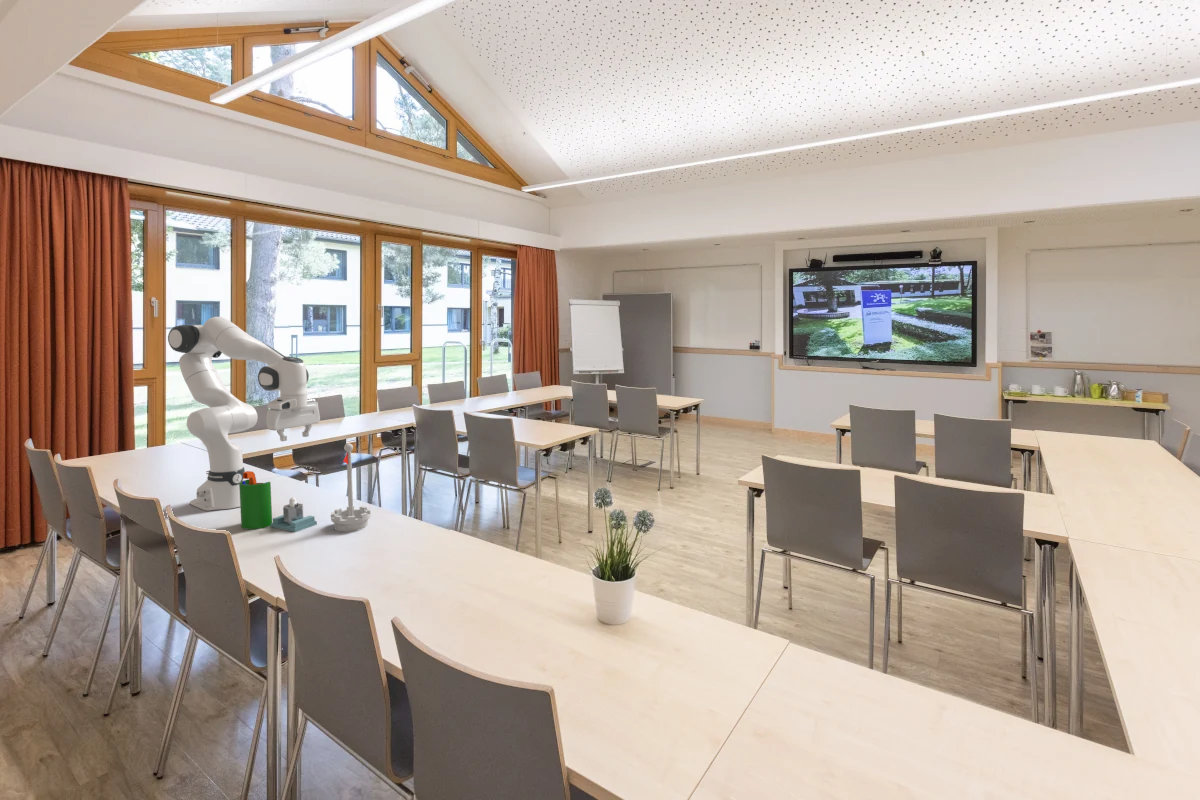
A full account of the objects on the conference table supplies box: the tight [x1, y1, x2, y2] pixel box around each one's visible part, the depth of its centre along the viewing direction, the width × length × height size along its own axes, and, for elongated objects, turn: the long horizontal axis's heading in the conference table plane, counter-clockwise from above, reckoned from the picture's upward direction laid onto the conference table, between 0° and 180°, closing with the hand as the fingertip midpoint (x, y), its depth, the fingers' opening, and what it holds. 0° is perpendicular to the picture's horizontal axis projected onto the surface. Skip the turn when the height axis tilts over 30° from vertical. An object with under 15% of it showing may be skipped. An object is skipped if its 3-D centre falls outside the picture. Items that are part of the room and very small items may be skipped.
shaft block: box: [270, 497, 318, 533], centre depth 219 cm, size 12×9×10 cm
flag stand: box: [330, 442, 372, 532], centre depth 218 cm, size 13×13×30 cm
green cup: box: [239, 470, 273, 530], centre depth 218 cm, size 10×9×20 cm
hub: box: [282, 502, 304, 523], centre depth 219 cm, size 6×6×5 cm
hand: (294, 438), depth 228 cm, fingers open, 8 cm apart
